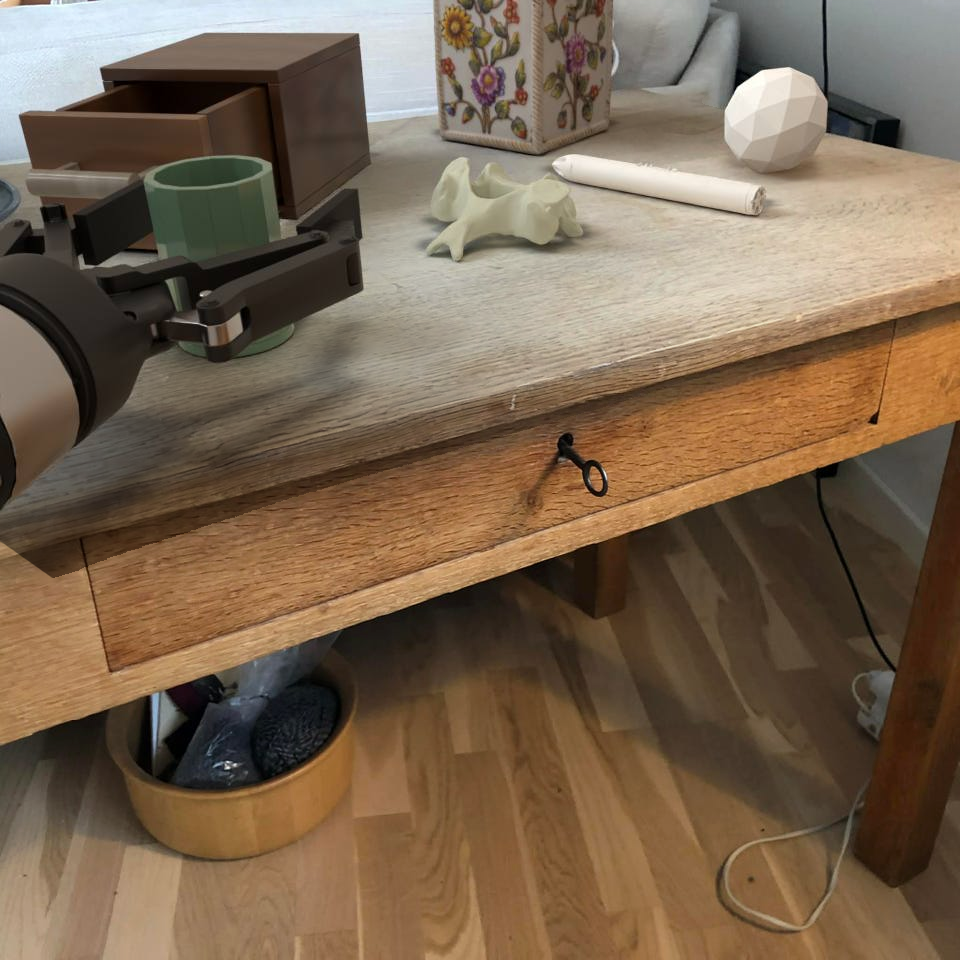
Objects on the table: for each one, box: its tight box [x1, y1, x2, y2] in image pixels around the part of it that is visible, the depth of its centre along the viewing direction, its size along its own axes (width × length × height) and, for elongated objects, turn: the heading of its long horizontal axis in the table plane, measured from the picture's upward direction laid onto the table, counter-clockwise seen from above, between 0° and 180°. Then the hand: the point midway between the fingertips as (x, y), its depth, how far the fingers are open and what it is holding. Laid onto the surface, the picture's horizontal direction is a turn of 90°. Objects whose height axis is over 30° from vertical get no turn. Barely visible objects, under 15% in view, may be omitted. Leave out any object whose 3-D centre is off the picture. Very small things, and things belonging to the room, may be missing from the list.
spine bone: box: [426, 156, 584, 262], centre depth 68 cm, size 12×10×5 cm
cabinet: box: [99, 32, 372, 220], centre depth 80 cm, size 16×14×10 cm
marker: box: [551, 153, 767, 216], centre depth 76 cm, size 18×2×2 cm, turn 50°
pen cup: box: [143, 155, 295, 358], centre depth 54 cm, size 6×6×9 cm
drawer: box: [18, 81, 283, 251], centre depth 69 cm, size 19×13×8 cm, turn 165°
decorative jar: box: [432, 0, 614, 156], centre depth 89 cm, size 12×12×18 cm
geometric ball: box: [724, 66, 829, 174], centre depth 79 cm, size 8×8×8 cm
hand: (249, 208), depth 57 cm, fingers open, 12 cm apart
